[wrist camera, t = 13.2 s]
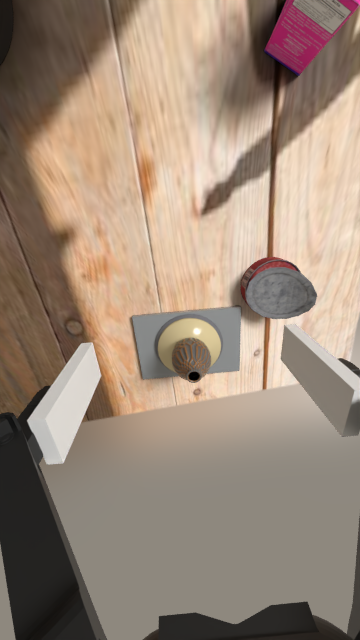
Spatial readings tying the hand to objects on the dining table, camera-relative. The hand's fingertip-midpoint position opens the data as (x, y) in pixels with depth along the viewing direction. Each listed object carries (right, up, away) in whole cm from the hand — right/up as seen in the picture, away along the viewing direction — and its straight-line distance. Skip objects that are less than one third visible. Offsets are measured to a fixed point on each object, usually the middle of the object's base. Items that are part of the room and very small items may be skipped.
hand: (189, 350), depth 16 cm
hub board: (+1, -3, +30) cm, 30 cm away
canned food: (+15, +9, +27) cm, 32 cm away
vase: (+1, -3, +29) cm, 29 cm away
